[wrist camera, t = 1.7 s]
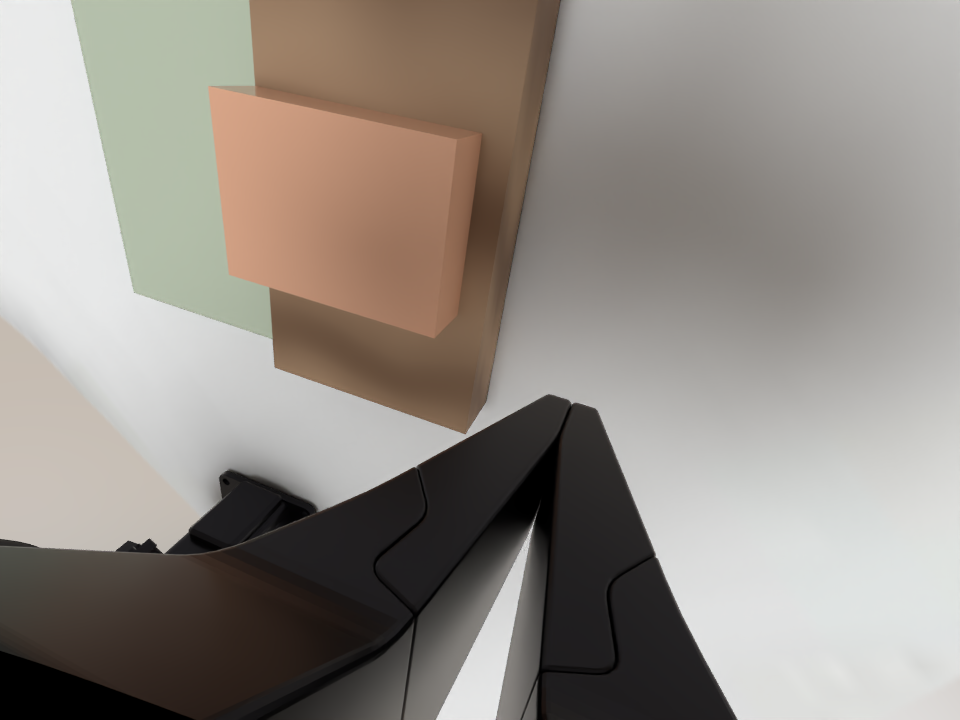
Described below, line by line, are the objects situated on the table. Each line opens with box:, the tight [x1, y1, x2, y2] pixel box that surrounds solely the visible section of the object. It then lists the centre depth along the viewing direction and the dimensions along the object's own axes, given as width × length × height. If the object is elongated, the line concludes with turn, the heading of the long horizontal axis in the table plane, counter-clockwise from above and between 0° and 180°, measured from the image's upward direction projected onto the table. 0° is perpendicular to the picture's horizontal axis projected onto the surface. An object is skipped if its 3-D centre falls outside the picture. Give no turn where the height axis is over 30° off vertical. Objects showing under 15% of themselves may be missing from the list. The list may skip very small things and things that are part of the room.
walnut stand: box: [249, 0, 561, 434], centre depth 19 cm, size 16×9×2 cm, turn 171°
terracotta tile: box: [208, 86, 482, 338], centre depth 17 cm, size 6×8×2 cm
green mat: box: [71, 0, 273, 339], centre depth 22 cm, size 16×10×1 cm, turn 171°
